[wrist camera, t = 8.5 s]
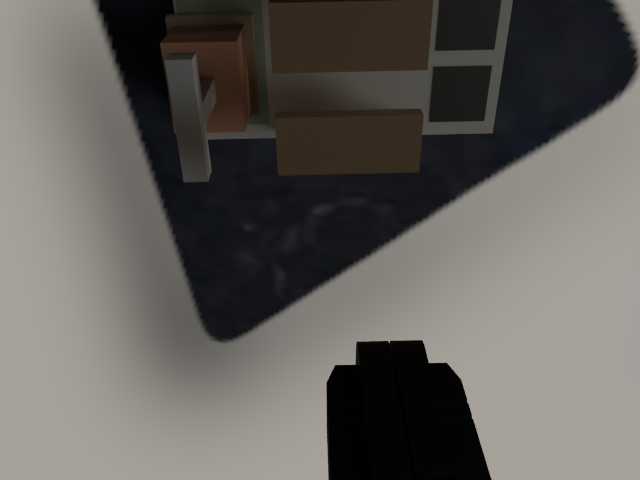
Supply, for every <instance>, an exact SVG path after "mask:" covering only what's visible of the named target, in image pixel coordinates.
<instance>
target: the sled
mask: <svg viewBox="0 0 640 480" xmlns="http://www.w3.org/2000/svg"><path fill="white" fill-rule="evenodd" d="M165 21H166V28H167V36H166V37H165V38H164V39H163V40H162V41H161V42H160V46H161V52H162V59H163V65H164V71H165V77H166V84H167V90H168V96H169V102H170V109H171V115H172V121H173V127H174V133H176V136H177V142H178V149H179V155H180V161H181V167H182V174H183V180H184V182H208V180H209V177H210V174H211V164H210V156H209V149H208V141H207V133H217V132H245V130H246V125H247V121H248V117H249V115H260V101H259V87H258V74H257V60H256V47H255V33H254V20H253V12H248V13H200V14H167V15H166V16H165Z"/></svg>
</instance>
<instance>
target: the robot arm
mask: <svg viewBox="0 0 640 480" xmlns="http://www.w3.org/2000/svg"><path fill="white" fill-rule="evenodd" d="M327 442H328V472H329V480H491V477H490V474H489V471H488V467H487V464H486V461H485V457H484V454H483V451H482V448H481V444H480V441H479V438H478V434H477V431H476V428H475V424H474V421H473V419H472V414H471V411H470V408H469V404H468V403H467V398H466V395H465V391H464V388H463V385H462V382H461V379H460V378H459V377H458V376H457V374H456V373H455V372H454V371H453V370H452V369H451V367H450V366H449V365H448V364H447V363H428V358H427V354H426V351H425V346H424V343H423V341H422V340H414V341H390V344H389V342H388V341H371V342H357V344H356V365H335V367H334V369H333V371H332V373H331V375H330V377H329V379H328V381H327Z"/></svg>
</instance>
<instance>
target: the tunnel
mask: <svg viewBox="0 0 640 480" xmlns="http://www.w3.org/2000/svg"><path fill="white" fill-rule="evenodd" d="M512 2H513V0H173V6H174V13H175V14H200V13H248V12H253V20H254V33H255V47H256V60H257V74H258V87H259V101H260V115H249V117H248V121H247V125H246V130H245V132H217V133H207V139H248V138H276V146H277V162H278V175H320V174H365V173H410V172H419V167H420V155H421V143H422V135H431V134H476V133H493V126H494V120H495V113H496V107H497V100H498V94H499V87H500V81H501V74H502V68H503V61H504V55H505V48H506V41H507V35H508V28H509V22H510V15H511V9H512Z"/></svg>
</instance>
